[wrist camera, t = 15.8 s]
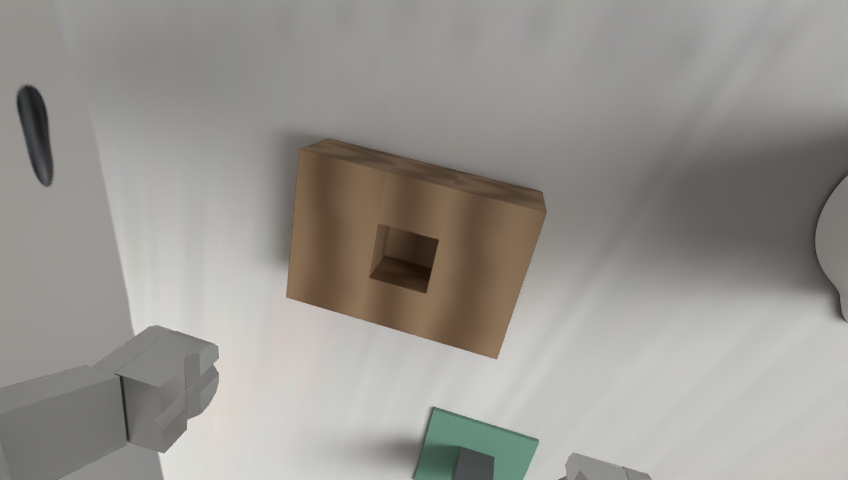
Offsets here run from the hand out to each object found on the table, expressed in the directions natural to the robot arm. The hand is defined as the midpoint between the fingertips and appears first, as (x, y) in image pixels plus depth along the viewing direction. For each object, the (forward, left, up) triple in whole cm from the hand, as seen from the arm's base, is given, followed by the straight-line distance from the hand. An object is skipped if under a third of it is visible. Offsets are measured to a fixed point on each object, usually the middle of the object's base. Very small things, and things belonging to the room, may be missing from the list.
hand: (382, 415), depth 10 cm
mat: (-8, +35, -31) cm, 47 cm away
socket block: (+4, +9, -31) cm, 32 cm away
